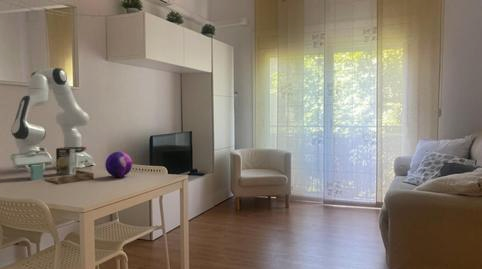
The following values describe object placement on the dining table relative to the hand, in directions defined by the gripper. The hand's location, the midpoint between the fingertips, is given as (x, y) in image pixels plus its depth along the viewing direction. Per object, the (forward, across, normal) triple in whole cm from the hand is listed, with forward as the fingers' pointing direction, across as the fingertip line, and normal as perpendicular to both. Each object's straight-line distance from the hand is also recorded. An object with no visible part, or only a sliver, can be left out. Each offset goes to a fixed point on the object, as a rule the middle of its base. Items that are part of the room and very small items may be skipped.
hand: (37, 171), depth 206 cm
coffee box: (-1, +19, +7) cm, 20 cm away
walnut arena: (+14, +11, -8) cm, 19 cm away
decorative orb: (+23, +34, -17) cm, 45 cm away
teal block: (+3, 0, +4) cm, 4 cm away
